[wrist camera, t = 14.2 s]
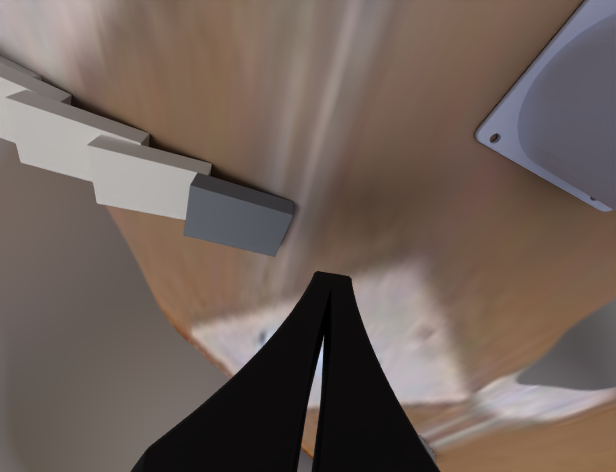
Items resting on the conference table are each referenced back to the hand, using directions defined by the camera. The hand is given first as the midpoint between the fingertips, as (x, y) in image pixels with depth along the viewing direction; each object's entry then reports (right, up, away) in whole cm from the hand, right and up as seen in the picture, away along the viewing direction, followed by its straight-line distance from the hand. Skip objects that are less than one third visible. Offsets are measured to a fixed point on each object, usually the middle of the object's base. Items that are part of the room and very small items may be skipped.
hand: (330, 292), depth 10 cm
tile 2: (-9, +5, +10) cm, 14 cm away
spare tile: (-3, +3, +10) cm, 11 cm away
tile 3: (-13, +8, +9) cm, 18 cm away
